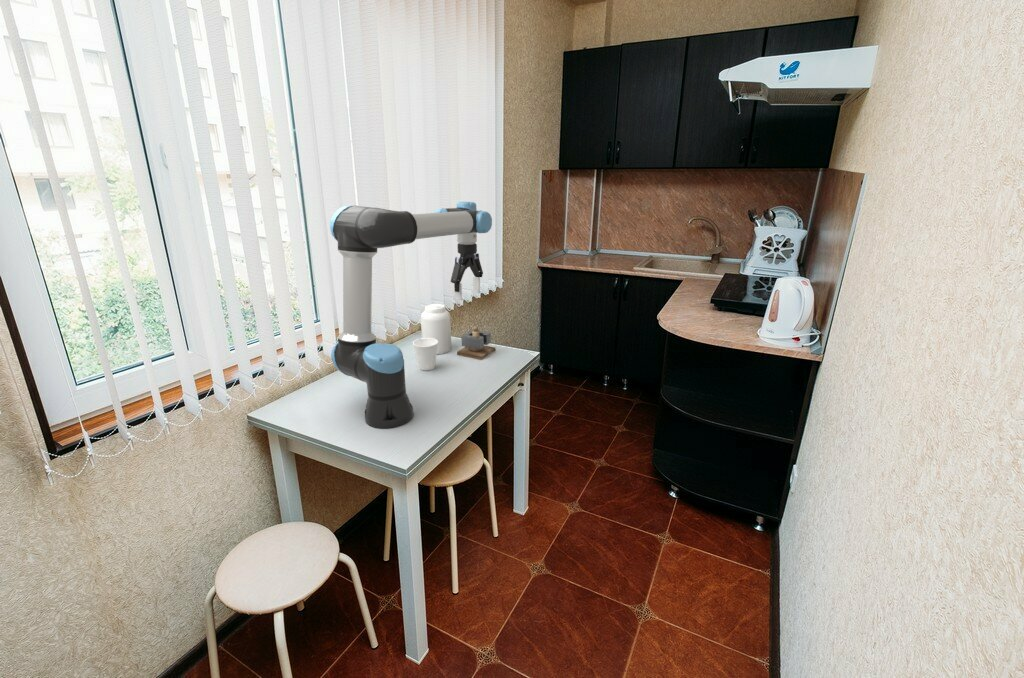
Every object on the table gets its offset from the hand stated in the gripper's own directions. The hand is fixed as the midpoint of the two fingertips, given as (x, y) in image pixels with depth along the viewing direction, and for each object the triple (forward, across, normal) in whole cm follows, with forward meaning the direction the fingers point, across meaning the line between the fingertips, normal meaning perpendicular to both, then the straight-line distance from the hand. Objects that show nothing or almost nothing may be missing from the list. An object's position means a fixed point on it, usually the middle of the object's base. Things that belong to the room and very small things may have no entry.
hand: (467, 296), depth 192 cm
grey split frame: (+22, +5, -1) cm, 23 cm away
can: (+26, 0, +16) cm, 31 cm away
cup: (+27, -18, +8) cm, 33 cm away
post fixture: (+26, +5, -1) cm, 27 cm away
